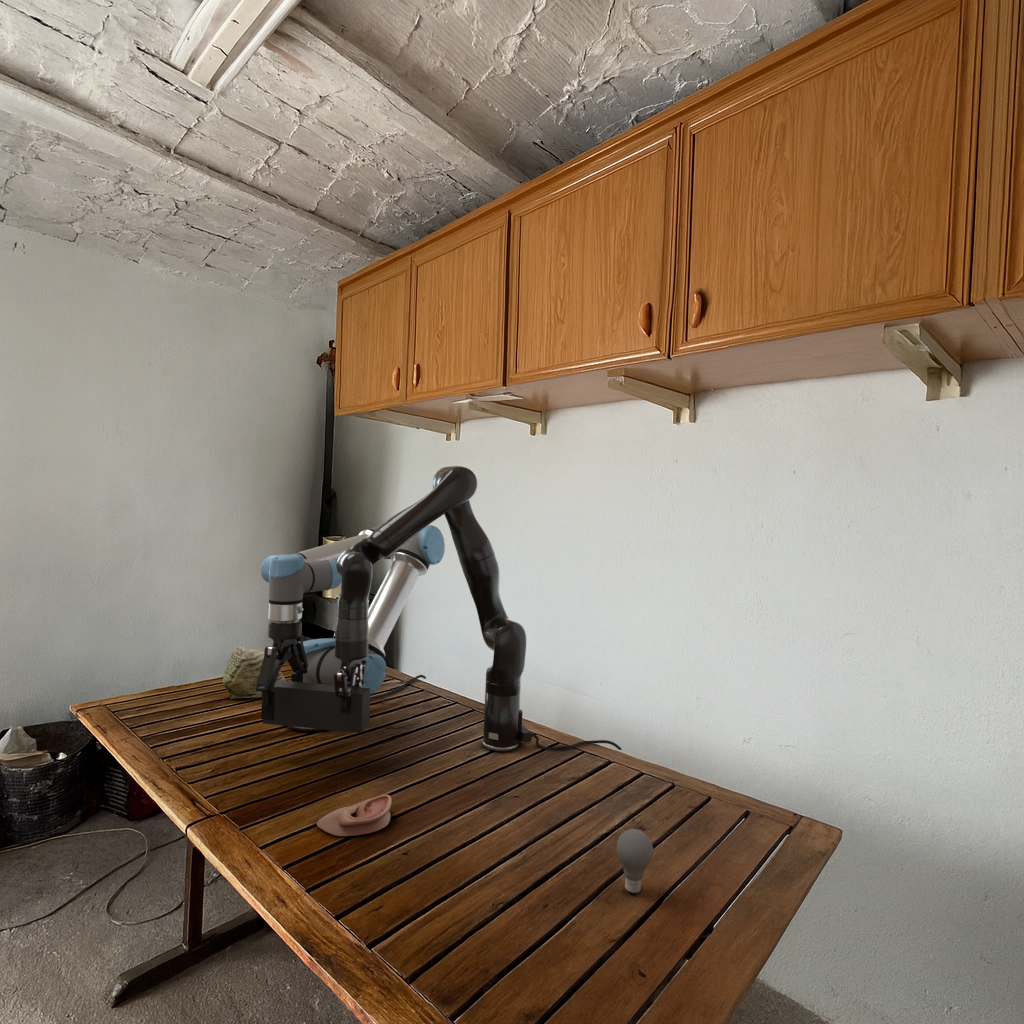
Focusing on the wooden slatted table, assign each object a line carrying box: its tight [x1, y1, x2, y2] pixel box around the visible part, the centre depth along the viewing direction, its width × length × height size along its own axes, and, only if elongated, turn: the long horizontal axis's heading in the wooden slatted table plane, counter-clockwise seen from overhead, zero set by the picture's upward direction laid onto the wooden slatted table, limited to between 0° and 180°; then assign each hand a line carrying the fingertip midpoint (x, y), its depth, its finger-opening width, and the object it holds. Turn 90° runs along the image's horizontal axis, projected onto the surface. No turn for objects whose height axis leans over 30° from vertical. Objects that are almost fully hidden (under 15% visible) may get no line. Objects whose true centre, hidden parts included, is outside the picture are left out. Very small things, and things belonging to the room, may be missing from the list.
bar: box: [262, 680, 371, 734], centre depth 149 cm, size 24×5×9 cm, turn 81°
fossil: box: [222, 646, 287, 699], centre depth 198 cm, size 9×18×15 cm, turn 132°
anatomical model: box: [316, 794, 393, 837], centre depth 124 cm, size 13×4×12 cm
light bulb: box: [615, 828, 654, 894], centre depth 106 cm, size 6×6×10 cm
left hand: (282, 709), depth 150 cm, fingers open, 13 cm apart
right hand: (349, 708), depth 147 cm, fingers closed on bar, 4 cm apart
